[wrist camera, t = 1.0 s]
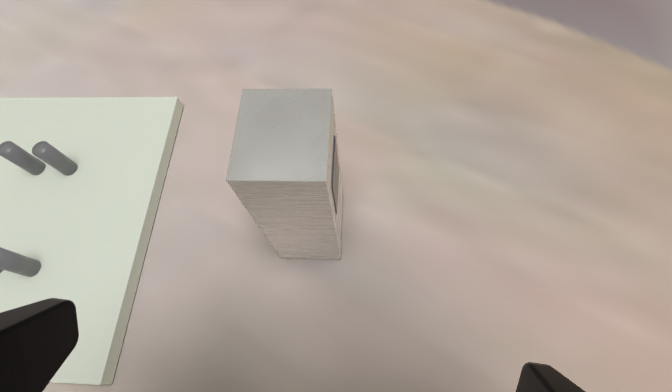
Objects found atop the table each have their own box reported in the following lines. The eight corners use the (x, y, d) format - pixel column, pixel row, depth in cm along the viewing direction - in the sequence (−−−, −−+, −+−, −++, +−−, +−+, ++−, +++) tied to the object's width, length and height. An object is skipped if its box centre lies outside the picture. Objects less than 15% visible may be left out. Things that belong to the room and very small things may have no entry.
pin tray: (-131, 371, 21) (-218, 371, 18) (2, 106, 29) (-43, 73, 25) (112, 384, 20) (65, 386, 17) (183, 105, 28) (160, 71, 24)
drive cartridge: (280, 258, 22) (224, 180, 13) (286, 196, 24) (241, 89, 15) (341, 259, 22) (327, 181, 13) (343, 196, 24) (333, 88, 15)
